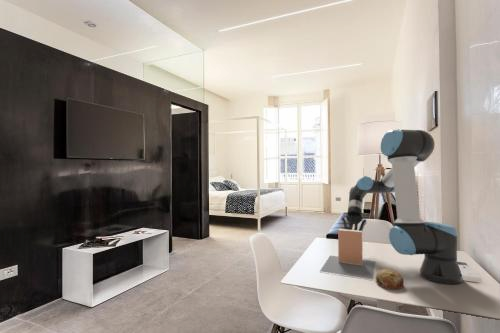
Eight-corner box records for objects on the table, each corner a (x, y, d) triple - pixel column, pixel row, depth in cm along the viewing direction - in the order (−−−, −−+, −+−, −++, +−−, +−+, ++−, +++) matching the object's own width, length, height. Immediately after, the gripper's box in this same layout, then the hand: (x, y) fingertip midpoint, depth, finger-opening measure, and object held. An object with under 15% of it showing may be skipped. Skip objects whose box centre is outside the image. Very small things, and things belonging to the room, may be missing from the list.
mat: (330, 256, 151) (330, 255, 151) (375, 262, 142) (375, 261, 142) (319, 272, 128) (319, 271, 128) (373, 280, 118) (373, 279, 118)
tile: (339, 260, 142) (339, 228, 143) (362, 263, 138) (362, 230, 138) (338, 262, 140) (338, 229, 140) (362, 265, 135) (362, 232, 135)
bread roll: (374, 290, 118) (367, 273, 117) (391, 276, 121) (384, 260, 120) (393, 300, 109) (386, 282, 107) (411, 285, 112) (405, 267, 111)
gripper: (367, 214, 160) (365, 251, 145) (343, 213, 166) (339, 248, 150) (367, 206, 155) (365, 243, 140) (342, 205, 161) (337, 241, 146)
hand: (351, 246), depth 145 cm, fingers closed
